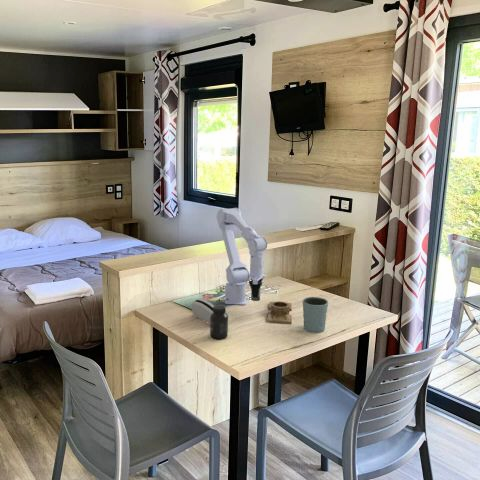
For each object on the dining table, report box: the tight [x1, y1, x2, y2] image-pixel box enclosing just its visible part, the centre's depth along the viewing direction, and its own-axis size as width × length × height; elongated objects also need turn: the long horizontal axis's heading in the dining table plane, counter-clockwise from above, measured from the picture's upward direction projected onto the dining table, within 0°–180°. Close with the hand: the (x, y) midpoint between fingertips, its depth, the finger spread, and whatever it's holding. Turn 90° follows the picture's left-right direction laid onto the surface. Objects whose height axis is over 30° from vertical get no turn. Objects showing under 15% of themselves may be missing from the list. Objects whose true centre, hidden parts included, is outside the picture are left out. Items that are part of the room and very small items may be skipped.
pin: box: [250, 281, 263, 302], centre depth 215 cm, size 5×5×8 cm
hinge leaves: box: [267, 300, 293, 324], centre depth 215 cm, size 10×23×4 cm, turn 174°
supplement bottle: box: [209, 304, 229, 341], centre depth 188 cm, size 7×7×12 cm
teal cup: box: [302, 296, 329, 334], centre depth 198 cm, size 10×10×12 cm
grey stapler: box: [190, 298, 215, 325], centre depth 204 cm, size 17×5×10 cm, turn 40°
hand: (255, 295), depth 215 cm, fingers closed on pin, 5 cm apart
